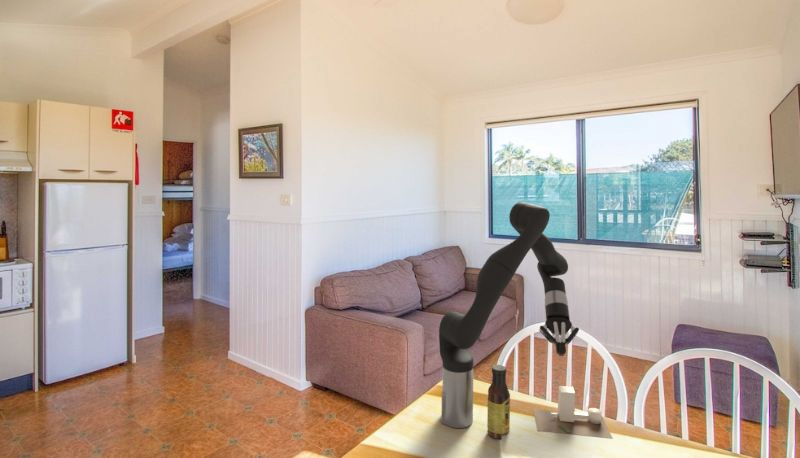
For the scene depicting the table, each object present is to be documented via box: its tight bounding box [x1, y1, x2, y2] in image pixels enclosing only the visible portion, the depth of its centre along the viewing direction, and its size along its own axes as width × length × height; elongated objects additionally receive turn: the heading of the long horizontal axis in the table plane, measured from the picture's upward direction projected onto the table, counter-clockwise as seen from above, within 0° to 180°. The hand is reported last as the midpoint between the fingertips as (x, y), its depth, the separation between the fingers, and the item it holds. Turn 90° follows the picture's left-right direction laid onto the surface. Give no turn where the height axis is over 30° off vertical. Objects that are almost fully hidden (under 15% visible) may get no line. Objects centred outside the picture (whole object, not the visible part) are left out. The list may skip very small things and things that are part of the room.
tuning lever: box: [551, 385, 602, 424], centre depth 129 cm, size 14×4×9 cm, turn 79°
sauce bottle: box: [486, 364, 511, 440], centre depth 124 cm, size 7×6×20 cm
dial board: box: [532, 408, 613, 440], centre depth 128 cm, size 20×12×2 cm, turn 79°
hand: (561, 355), depth 139 cm, fingers closed
